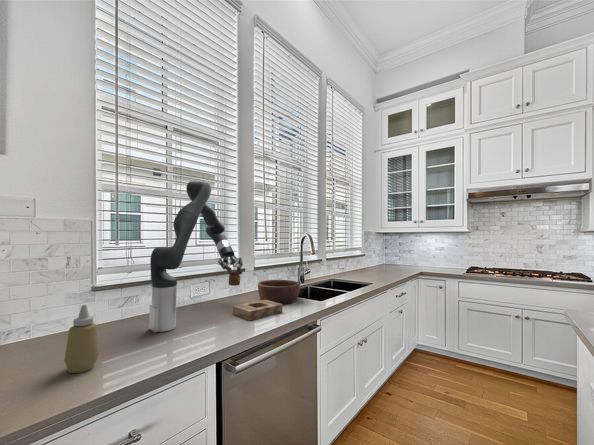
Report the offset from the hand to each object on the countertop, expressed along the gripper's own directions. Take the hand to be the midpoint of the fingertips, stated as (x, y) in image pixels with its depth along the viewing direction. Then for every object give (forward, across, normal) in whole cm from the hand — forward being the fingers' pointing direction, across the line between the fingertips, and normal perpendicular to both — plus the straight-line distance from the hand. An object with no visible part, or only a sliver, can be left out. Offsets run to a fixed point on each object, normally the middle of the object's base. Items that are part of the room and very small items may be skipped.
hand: (236, 273), depth 153 cm
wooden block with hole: (+24, +2, +1) cm, 24 cm away
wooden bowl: (+14, +28, +11) cm, 34 cm away
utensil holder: (+3, 0, +6) cm, 6 cm away
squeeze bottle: (+33, -70, -7) cm, 78 cm away
